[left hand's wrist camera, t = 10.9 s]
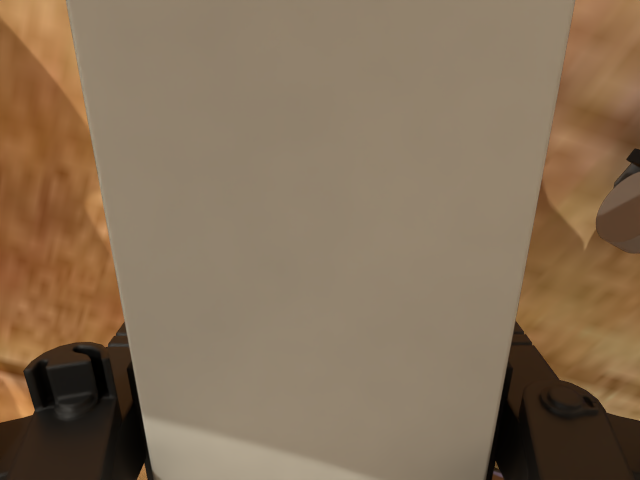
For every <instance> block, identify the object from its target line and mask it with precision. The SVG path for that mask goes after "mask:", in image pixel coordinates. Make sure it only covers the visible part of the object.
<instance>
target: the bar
mask: <svg viewBox="0 0 640 480" xmlns="http://www.w3.org/2000/svg"><path fill="white" fill-rule="evenodd" d="M66 4H67V9H68V15H69V20H70V26H71V31H72V36H73V42H74V47H75V53H76V58H77V64H78V69H79V75H80V80H81V86H82V91H83V96H84V102H85V107H86V113H87V118H88V124H89V129H90V135H91V140H92V146H93V151H94V156H95V162H96V167H97V173H98V178H99V184H100V189H101V195H102V200H103V206H104V211H105V217H106V222H107V227H108V233H109V238H110V244H111V249H112V255H113V260H114V266H115V271H116V277H117V282H118V287H119V293H120V298H121V304H122V309H123V315H124V320H125V326H126V331H127V337H128V342H129V347H130V353H131V358H132V364H133V369H134V375H135V380H136V386H137V391H138V397H139V402H140V408H141V413H142V418H143V424H144V429H145V435H146V440H147V446H148V451H149V457H150V462H151V468H152V473H153V478H154V480H486V475H487V470H488V465H489V459H490V454H491V448H492V443H493V438H494V432H495V427H496V422H497V416H498V411H499V406H500V400H501V395H502V390H503V384H504V379H505V374H506V368H507V363H508V357H509V352H510V347H511V341H512V336H513V331H514V325H515V320H516V315H517V309H518V304H519V299H520V293H521V288H522V283H523V277H524V272H525V266H526V261H527V256H528V250H529V245H530V240H531V234H532V229H533V224H534V218H535V213H536V208H537V202H538V197H539V192H540V186H541V181H542V175H543V170H544V165H545V159H546V154H547V149H548V143H549V138H550V133H551V127H552V122H553V117H554V111H555V106H556V100H557V95H558V90H559V84H560V79H561V74H562V68H563V63H564V58H565V52H566V47H567V42H568V36H569V31H570V26H571V20H572V15H573V9H574V4H575V0H66Z"/></svg>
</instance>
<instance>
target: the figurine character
mask: <svg viewBox="0 0 640 480" xmlns="http://www.w3.org/2000/svg"><path fill="white" fill-rule="evenodd" d="M626 160H628V161H629V162H631V164H630V166H629V167H628V168H627V169H626V170H625V171H624V172H623V174H622V175H621V176H620V177H619V178H618V179H617V180H616V182H615V183H614V188H613V190H612V191H611V192H610V193H609V194H608V195H607V197H606V198H605V200H604V201H603V203H602V205H601V206H600V209H599V211H598V214H597V218H596V229H597V232H598V234H599V236H600V237H601V238H602V239H604V240H605V241H607V242H609V243H611V244H612V245H614V246H616V247H618V248H620V249H621V250H623V251H625V252H628V253H640V150H639V149H634V150H633V152H632V153H631V154H630V155H629V157H628V158H627V159H626Z"/></svg>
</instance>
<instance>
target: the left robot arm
mask: <svg viewBox="0 0 640 480" xmlns="http://www.w3.org/2000/svg"><path fill="white" fill-rule="evenodd" d="M24 375H25V378H26V382H27V385H28V388H29V392H30V395H31V398H32V402H33V405H34V409H35V411H34V414H33V415H31V416H28V417H24V418H20V419H15V420H11V421H6V422H2V423H0V480H137V478H138V476H139V473H140V471H141V469H142V466H143V464H144V463H145V468H146V473H147V478H148V480H154V478H153V473H152V468H151V462H150V457H149V451H148V446H147V440H146V435H145V429H144V424H143V418H142V413H141V408H140V402H139V397H138V391H137V386H136V380H135V375H134V369H133V364H132V358H131V353H130V347H129V342H128V337H127V331H126V326H125V322H124V323H123V325H122V326H121V327H120V329H119V330H118V332H117V333H116V336H114V337H113V338H112V340H111V341H110V342H109V344H108V347H106V348H105V347H104V346H103V345H101V344H97V343H92V342H79V343H72V344H68V345H63V346H59V347H57V348H55V349H52V350H50V351H47V352H45V353H43V354H42V355H40V356H39V357H37V358H36V359H34V360H33V361H31V363H30V364H29V365H28V366H27V367H26V368H25V370H24ZM495 461H496V462H497V465H498V467H499V469H500V472H501V474H502V476H503V479H504V480H640V421H638V420H634V419H629V418H624V417H620V416H616V415H612V414H609V413H606V411H605V409H604V407H603V406H602V405H601V403H600V402H599V400H598V399H597V398H595V397H594V396H593V395H591V394H590V393H589V392H588V391H586V390H585V389H582V388H580V387H578V386H576V385H574V384H572V383H569V382H565V381H561V380H559V378H558V377H557V376H556V374H555V373H554V372H553V370H552V369H551V368H550V366H549V365H548V364H547V362H546V361H545V360H544V358H543V357H542V356H541V354H540V353H539V352H538V350H537V349H536V348H535V346H534V345H532V342H531V341H530V339H529V338H528V337H527V335H526V334H524V331H523V330H522V329H521V327H520V326H519V325H518V323H517V322H516V321H515V325H514V331H513V336H512V341H511V347H510V352H509V357H508V363H507V368H506V374H505V379H504V384H503V390H502V395H501V400H500V406H499V411H498V416H497V422H496V427H495V432H494V438H493V443H492V448H491V454H490V459H489V465H488V470H487V475H486V480H492V477H493V472H494V466H495Z"/></svg>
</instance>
